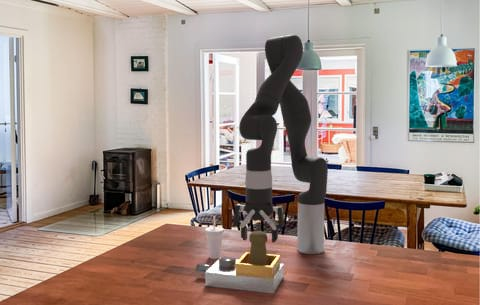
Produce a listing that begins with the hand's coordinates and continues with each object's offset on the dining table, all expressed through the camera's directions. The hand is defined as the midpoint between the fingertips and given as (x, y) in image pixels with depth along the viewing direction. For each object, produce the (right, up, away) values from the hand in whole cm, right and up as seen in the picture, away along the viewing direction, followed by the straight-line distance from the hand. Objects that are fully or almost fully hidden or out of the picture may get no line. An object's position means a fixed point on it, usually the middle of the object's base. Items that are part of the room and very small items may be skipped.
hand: (259, 240), depth 140 cm
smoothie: (-14, -10, +24) cm, 30 cm away
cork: (0, -9, +1) cm, 9 cm away
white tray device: (-6, -12, +3) cm, 14 cm away
